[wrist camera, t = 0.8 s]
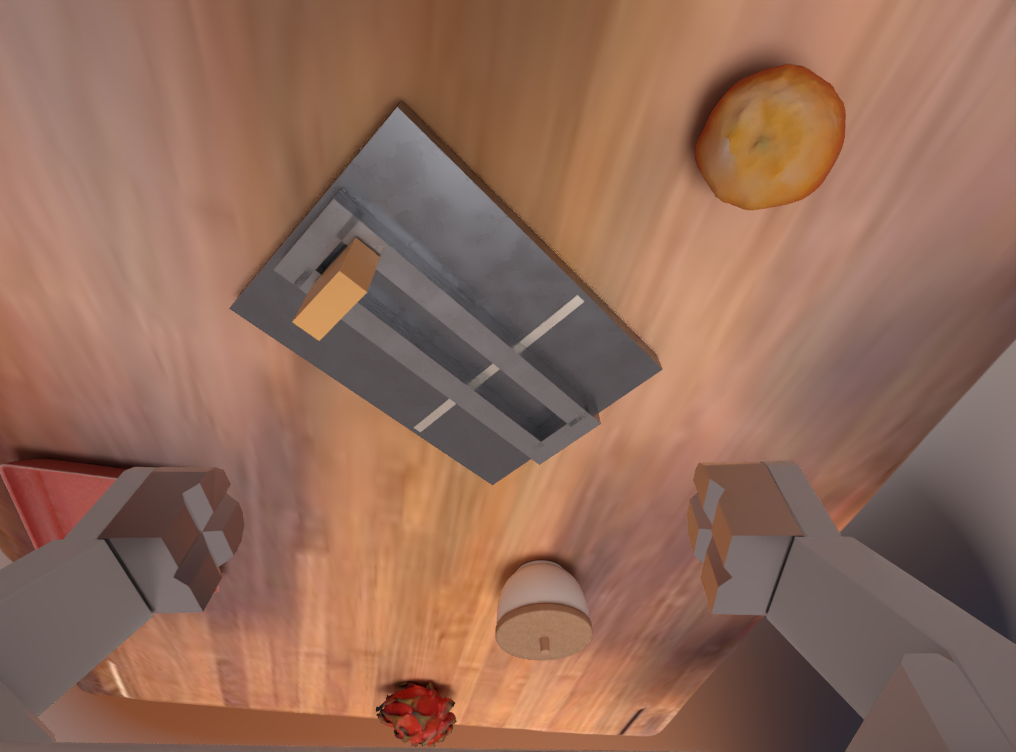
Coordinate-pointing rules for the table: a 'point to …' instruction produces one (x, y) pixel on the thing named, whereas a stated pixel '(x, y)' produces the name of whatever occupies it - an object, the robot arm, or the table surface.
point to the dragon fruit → (418, 714)
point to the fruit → (772, 138)
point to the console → (451, 309)
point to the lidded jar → (542, 613)
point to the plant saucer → (55, 494)
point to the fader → (337, 289)
